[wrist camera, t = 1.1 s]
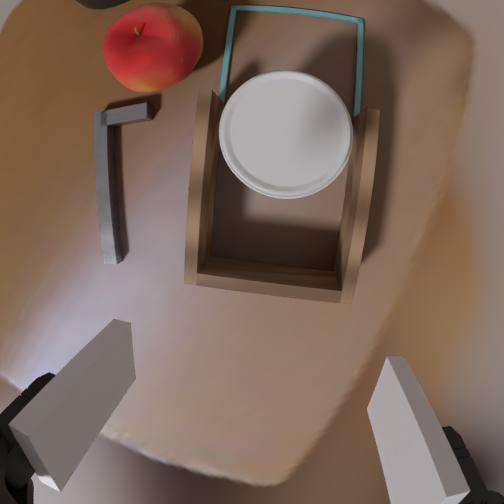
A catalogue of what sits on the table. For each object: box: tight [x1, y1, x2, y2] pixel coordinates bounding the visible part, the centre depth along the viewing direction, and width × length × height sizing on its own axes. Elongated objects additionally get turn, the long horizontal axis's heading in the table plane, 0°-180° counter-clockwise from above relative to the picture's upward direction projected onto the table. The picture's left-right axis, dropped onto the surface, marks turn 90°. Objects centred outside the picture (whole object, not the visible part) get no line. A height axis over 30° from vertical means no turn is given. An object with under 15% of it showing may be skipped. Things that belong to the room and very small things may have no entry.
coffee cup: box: [219, 70, 353, 199], centre depth 26 cm, size 9×9×12 cm
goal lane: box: [219, 5, 363, 118], centre depth 29 cm, size 12×15×1 cm
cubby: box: [184, 90, 380, 304], centre depth 30 cm, size 18×16×6 cm
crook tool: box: [94, 103, 153, 264], centre depth 33 cm, size 18×7×2 cm, turn 2°
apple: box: [103, 3, 203, 92], centre depth 25 cm, size 10×10×10 cm
